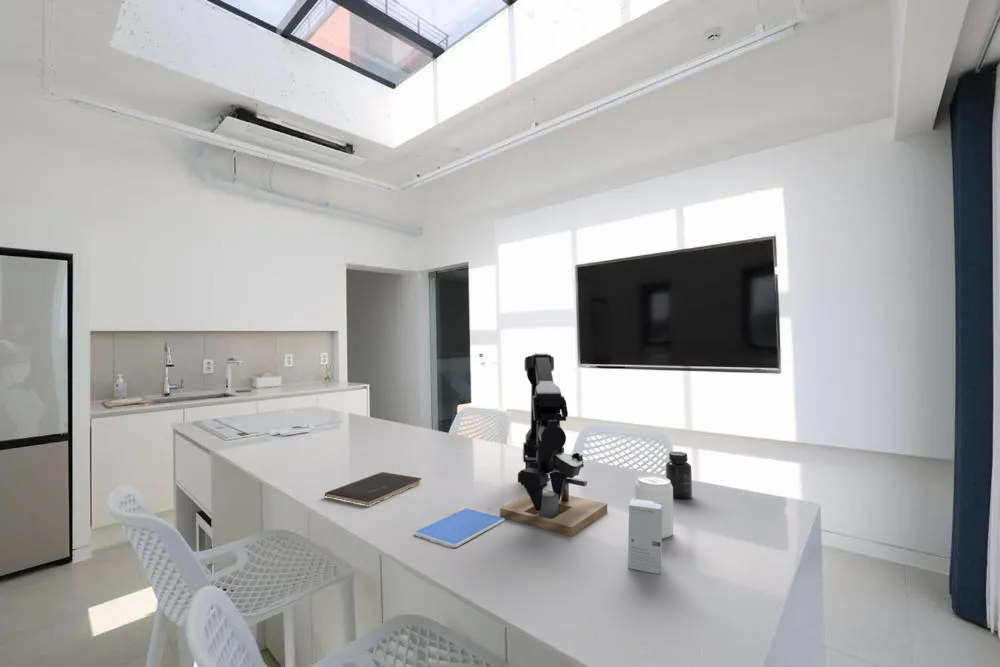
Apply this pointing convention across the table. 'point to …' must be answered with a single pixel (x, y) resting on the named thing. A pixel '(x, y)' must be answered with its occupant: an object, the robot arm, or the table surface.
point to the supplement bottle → (679, 475)
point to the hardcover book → (373, 488)
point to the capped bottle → (549, 505)
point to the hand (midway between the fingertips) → (548, 505)
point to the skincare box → (645, 536)
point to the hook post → (566, 487)
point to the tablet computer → (459, 527)
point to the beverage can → (658, 498)
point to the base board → (568, 522)
